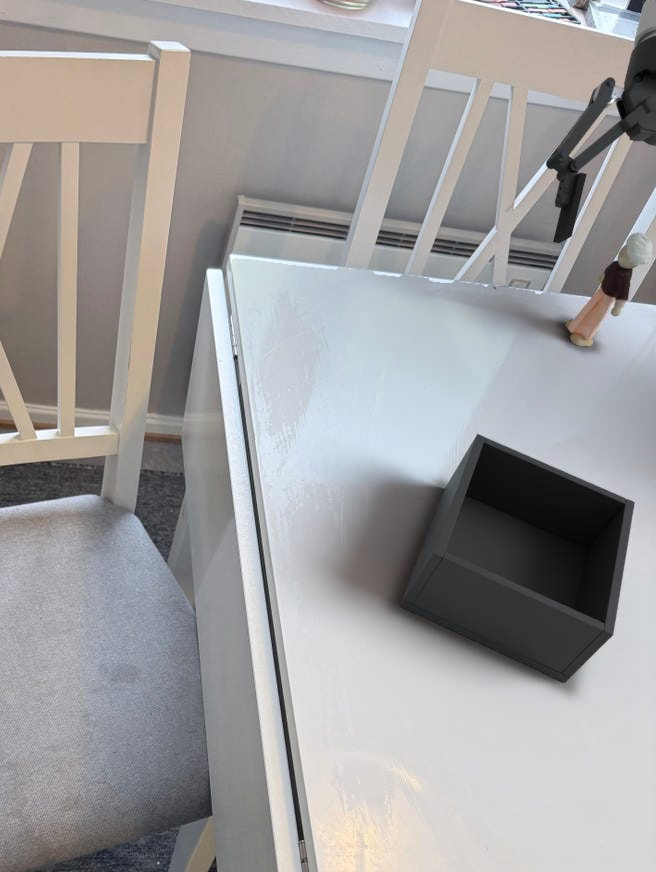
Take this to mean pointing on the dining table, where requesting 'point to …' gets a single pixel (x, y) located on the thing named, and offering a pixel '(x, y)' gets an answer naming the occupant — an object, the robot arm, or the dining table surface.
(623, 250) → the grandmother figurine
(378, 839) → the dining table surface
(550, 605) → the bin
